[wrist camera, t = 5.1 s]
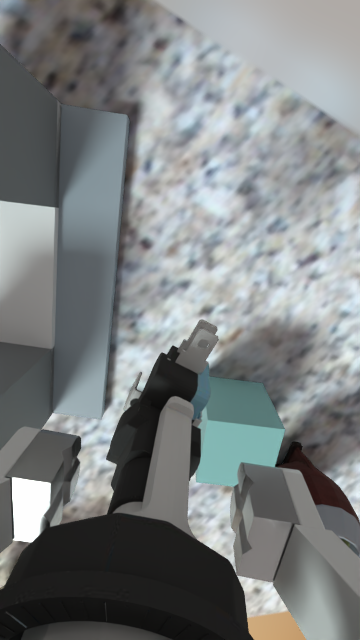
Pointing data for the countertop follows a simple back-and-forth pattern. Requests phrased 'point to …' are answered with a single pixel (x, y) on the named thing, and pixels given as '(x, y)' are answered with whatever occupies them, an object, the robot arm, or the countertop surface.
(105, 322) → the gray block stand
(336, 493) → the mate gourd
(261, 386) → the block
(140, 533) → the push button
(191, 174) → the countertop surface
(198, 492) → the countertop surface
